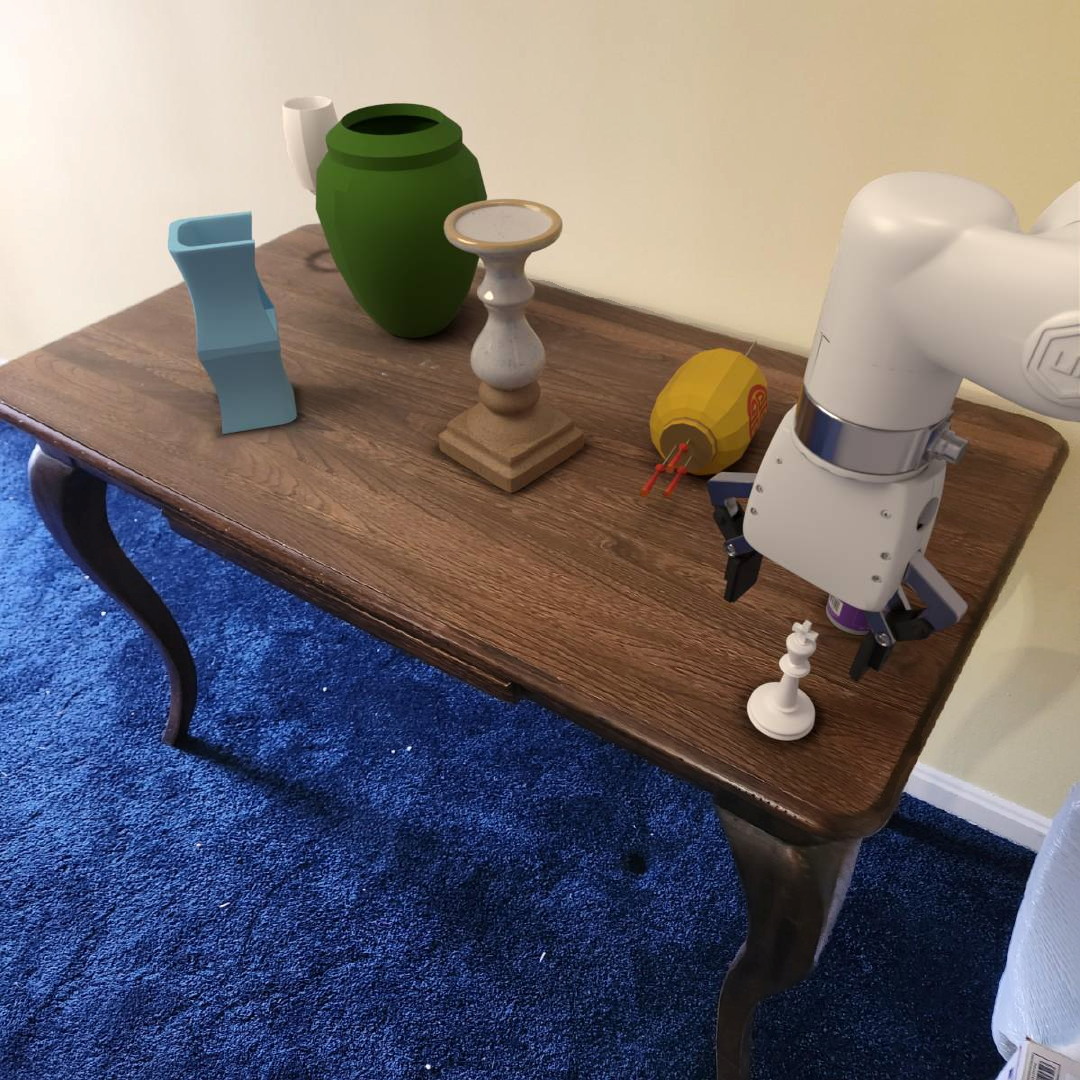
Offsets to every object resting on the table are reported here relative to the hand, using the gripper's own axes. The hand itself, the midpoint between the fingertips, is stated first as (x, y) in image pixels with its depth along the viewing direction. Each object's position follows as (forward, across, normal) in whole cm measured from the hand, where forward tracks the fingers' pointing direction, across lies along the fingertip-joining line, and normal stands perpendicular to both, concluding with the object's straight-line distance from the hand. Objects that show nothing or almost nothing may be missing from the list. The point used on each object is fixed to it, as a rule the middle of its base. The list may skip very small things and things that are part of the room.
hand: (799, 627), depth 58 cm
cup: (+11, +88, -24) cm, 92 cm away
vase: (+11, +65, -20) cm, 69 cm away
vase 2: (+11, +63, +4) cm, 64 cm away
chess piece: (+10, -1, 0) cm, 10 cm away
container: (+9, 0, -13) cm, 16 cm away
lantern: (+10, +23, -23) cm, 34 cm away
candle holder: (+10, +38, -10) cm, 40 cm away
